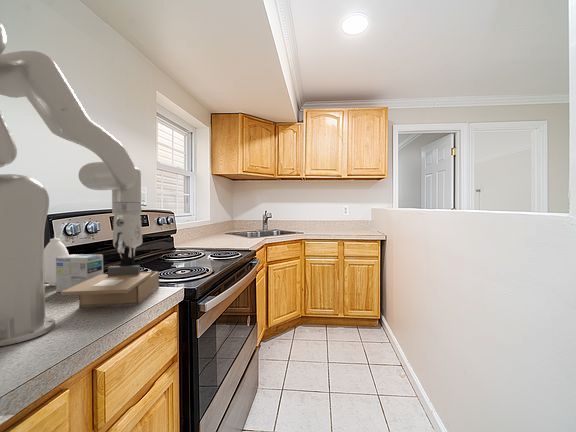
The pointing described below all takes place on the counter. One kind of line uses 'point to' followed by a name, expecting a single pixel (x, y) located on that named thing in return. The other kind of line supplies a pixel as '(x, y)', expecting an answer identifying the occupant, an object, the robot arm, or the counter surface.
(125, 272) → the lid
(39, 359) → the counter surface
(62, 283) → the light bulb box
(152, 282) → the mailer box
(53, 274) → the sauce bottle
